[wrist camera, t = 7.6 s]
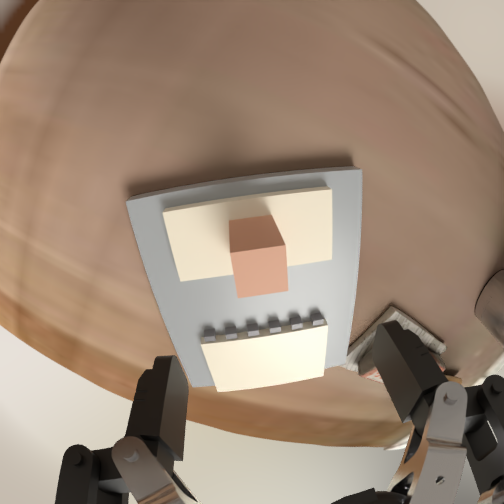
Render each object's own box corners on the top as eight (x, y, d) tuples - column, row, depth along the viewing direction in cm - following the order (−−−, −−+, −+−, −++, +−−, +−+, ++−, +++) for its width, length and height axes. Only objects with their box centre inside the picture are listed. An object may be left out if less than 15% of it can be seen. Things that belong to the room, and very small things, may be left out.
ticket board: (353, 166, 21) (368, 171, 18) (341, 354, 31) (347, 369, 28) (131, 196, 20) (121, 205, 18) (193, 377, 30) (192, 393, 28)
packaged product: (458, 361, 30) (411, 403, 33) (443, 341, 34) (400, 381, 37) (409, 328, 24) (344, 387, 27) (389, 301, 28) (332, 358, 31)
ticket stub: (327, 186, 20) (362, 211, 14) (327, 253, 22) (356, 295, 17) (165, 208, 19) (143, 242, 14) (182, 275, 22) (170, 323, 17)
